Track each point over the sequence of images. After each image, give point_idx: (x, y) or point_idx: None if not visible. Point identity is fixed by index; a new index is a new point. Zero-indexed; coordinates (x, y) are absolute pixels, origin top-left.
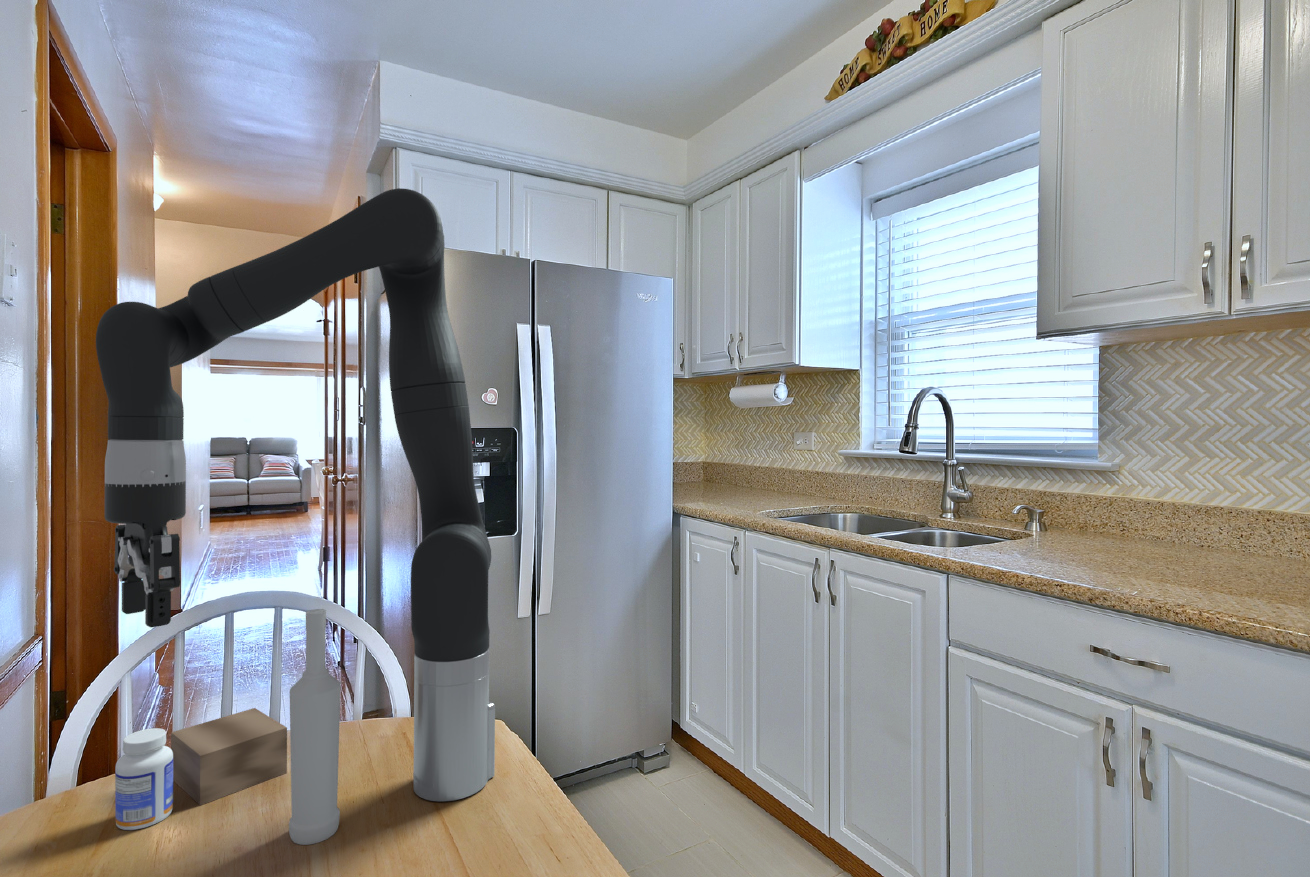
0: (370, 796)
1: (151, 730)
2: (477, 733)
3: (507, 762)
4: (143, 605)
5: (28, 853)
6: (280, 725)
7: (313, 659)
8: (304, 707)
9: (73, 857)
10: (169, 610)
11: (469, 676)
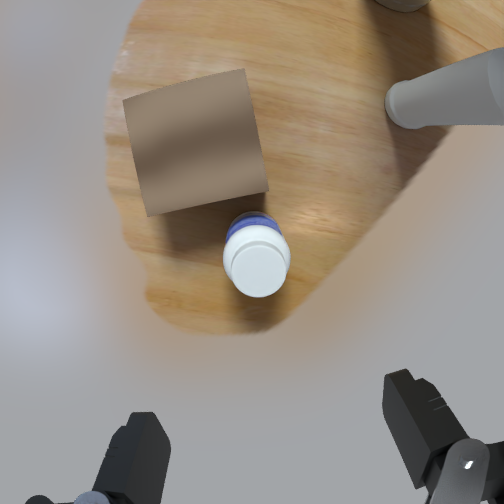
0: (369, 37)
1: (243, 263)
2: None
3: None
4: (148, 425)
5: (256, 324)
6: (227, 74)
7: None
8: None
9: (293, 294)
10: (423, 395)
11: None
